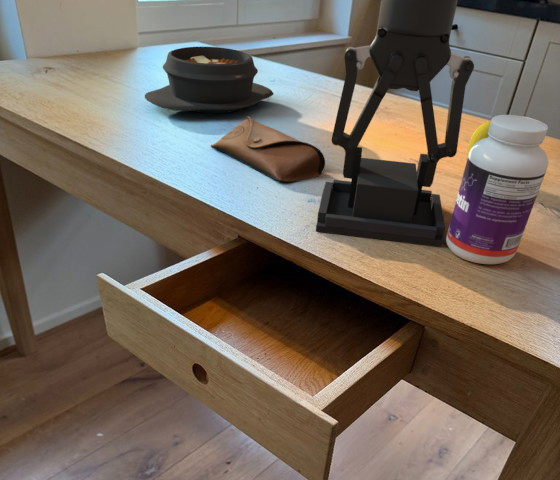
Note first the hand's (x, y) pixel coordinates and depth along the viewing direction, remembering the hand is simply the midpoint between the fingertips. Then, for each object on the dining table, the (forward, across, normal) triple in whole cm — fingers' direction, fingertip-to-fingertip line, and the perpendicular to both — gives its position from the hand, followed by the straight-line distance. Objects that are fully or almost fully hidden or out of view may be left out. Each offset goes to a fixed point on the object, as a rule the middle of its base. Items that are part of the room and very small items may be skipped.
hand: (381, 206), depth 70 cm
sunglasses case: (+2, -18, +16) cm, 24 cm away
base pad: (+2, 0, 0) cm, 2 cm away
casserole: (+2, -32, +41) cm, 52 cm away
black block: (0, 0, 0) cm, 0 cm away
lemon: (+2, +15, +20) cm, 25 cm away
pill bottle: (+2, +12, -6) cm, 13 cm away
